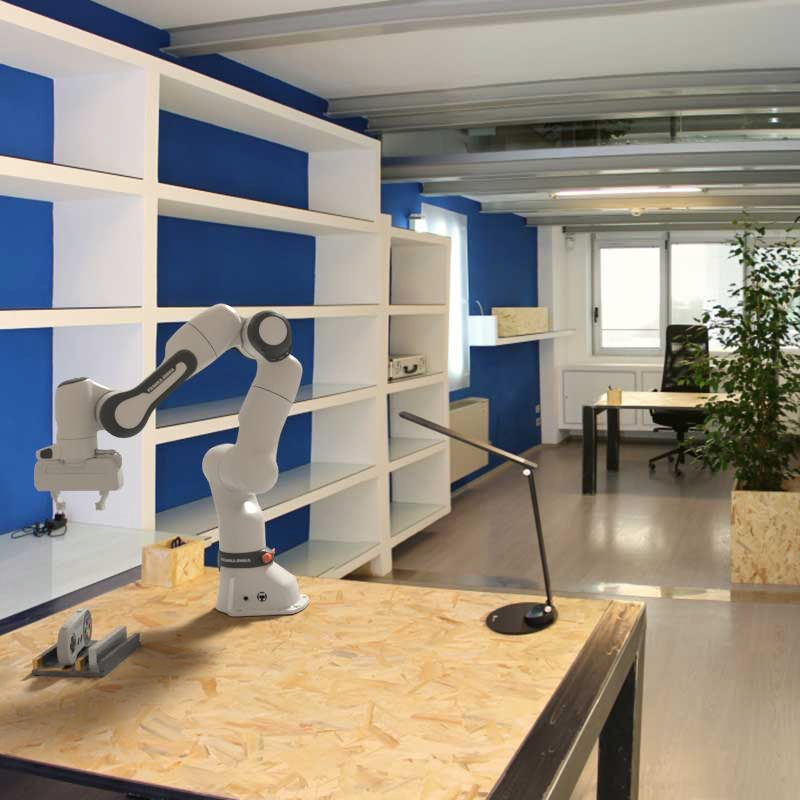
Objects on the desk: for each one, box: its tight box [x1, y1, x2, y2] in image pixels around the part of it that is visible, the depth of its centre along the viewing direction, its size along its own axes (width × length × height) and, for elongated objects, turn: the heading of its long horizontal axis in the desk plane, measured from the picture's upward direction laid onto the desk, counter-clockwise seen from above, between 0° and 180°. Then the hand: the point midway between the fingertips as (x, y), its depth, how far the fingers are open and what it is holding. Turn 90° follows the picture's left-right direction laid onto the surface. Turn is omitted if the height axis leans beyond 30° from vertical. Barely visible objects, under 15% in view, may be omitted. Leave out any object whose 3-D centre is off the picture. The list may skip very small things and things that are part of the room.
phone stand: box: [31, 625, 142, 678], centre depth 211 cm, size 15×19×5 cm
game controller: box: [56, 606, 93, 665], centre depth 211 cm, size 20×2×8 cm, turn 3°
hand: (80, 510), depth 232 cm, fingers open, 8 cm apart
